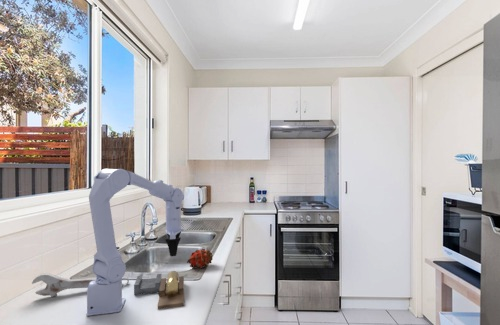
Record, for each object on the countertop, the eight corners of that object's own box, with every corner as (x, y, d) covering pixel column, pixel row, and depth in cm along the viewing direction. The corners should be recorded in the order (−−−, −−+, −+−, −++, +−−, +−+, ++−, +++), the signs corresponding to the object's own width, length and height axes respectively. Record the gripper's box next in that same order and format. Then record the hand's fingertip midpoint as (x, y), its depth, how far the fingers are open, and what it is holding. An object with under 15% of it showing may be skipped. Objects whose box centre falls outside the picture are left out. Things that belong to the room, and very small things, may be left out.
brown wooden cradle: (157, 309, 85) (157, 299, 85) (161, 286, 101) (161, 278, 101) (183, 305, 87) (183, 296, 87) (183, 284, 103) (183, 276, 103)
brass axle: (177, 296, 92) (178, 284, 92) (165, 297, 91) (165, 285, 91) (178, 281, 103) (178, 270, 103) (167, 281, 102) (167, 271, 102)
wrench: (127, 293, 102) (29, 299, 91) (127, 291, 104) (31, 297, 93) (129, 271, 103) (32, 275, 91) (130, 269, 104) (34, 273, 93)
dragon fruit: (215, 268, 122) (189, 278, 116) (208, 253, 127) (183, 261, 122) (217, 257, 117) (190, 266, 111) (210, 241, 122) (183, 249, 117)
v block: (134, 295, 94) (134, 285, 94) (137, 285, 102) (137, 275, 102) (159, 292, 96) (159, 282, 96) (161, 282, 104) (161, 273, 104)
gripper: (183, 221, 101) (184, 257, 101) (183, 214, 115) (184, 246, 115) (163, 222, 99) (164, 259, 100) (166, 215, 114) (166, 247, 114)
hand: (173, 252), depth 107 cm, fingers open, 7 cm apart
